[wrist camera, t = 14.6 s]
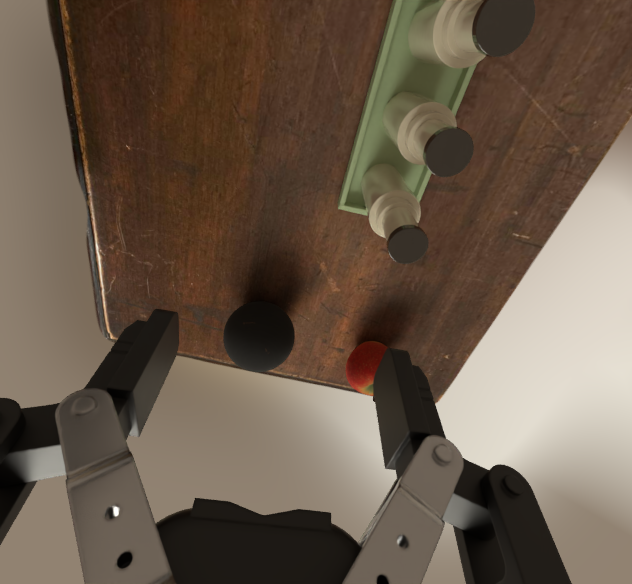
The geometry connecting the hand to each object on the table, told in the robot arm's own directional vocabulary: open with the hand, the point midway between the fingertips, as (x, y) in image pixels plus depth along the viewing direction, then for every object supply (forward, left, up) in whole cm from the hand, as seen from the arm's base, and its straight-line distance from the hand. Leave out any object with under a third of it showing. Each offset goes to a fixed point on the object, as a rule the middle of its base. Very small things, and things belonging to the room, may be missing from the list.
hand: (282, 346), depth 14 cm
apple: (+28, +16, -33) cm, 46 cm away
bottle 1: (+2, +9, -32) cm, 33 cm away
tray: (-6, +9, -33) cm, 35 cm away
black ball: (+25, -2, -33) cm, 42 cm away
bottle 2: (-13, +9, -32) cm, 36 cm away
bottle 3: (-6, +9, -32) cm, 34 cm away
